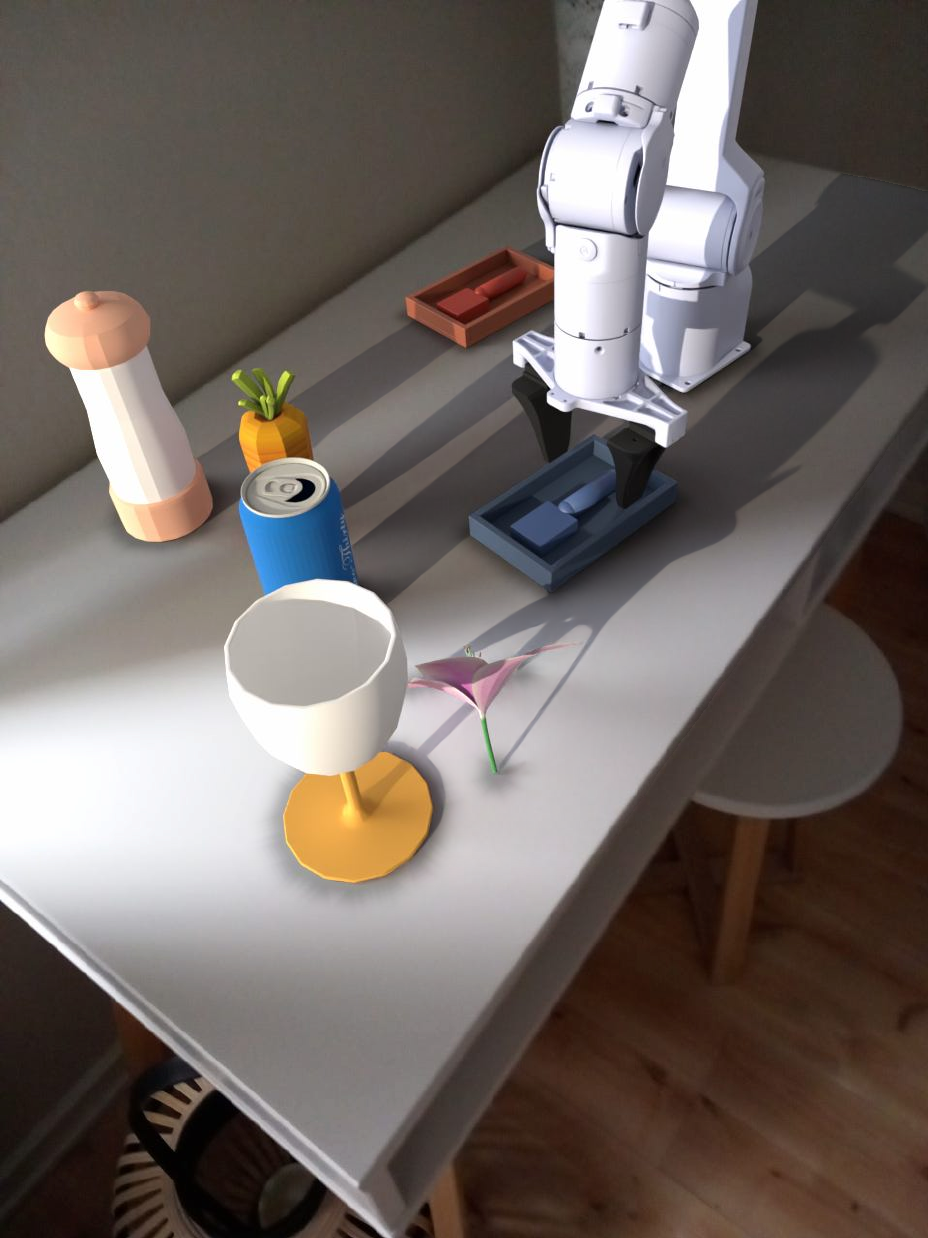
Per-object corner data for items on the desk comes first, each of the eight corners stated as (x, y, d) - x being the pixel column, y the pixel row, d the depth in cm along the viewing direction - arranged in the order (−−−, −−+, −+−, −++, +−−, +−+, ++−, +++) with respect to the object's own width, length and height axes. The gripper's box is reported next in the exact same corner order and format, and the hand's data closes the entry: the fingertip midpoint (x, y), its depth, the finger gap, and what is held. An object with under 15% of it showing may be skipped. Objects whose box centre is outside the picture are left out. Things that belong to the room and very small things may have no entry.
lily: (608, 711, 64) (578, 575, 61) (562, 812, 54) (524, 655, 50) (443, 720, 69) (408, 595, 65) (373, 815, 58) (327, 672, 55)
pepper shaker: (231, 499, 79) (162, 280, 65) (169, 554, 75) (80, 334, 61) (167, 471, 82) (87, 257, 68) (103, 523, 78) (4, 307, 64)
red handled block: (513, 274, 99) (513, 259, 98) (535, 284, 98) (535, 269, 96) (437, 314, 95) (436, 299, 94) (459, 326, 93) (457, 311, 92)
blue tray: (593, 453, 80) (593, 433, 78) (675, 501, 75) (678, 481, 74) (469, 535, 74) (468, 515, 73) (551, 593, 70) (551, 573, 68)
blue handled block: (603, 473, 77) (604, 457, 76) (634, 491, 76) (635, 475, 74) (510, 537, 73) (509, 521, 72) (540, 558, 71) (540, 542, 70)
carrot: (341, 518, 76) (307, 352, 65) (315, 561, 73) (274, 394, 62) (285, 507, 78) (242, 343, 67) (257, 549, 75) (206, 384, 64)
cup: (256, 856, 57) (179, 688, 45) (324, 735, 63) (272, 557, 51) (397, 904, 54) (355, 738, 43) (455, 773, 60) (433, 595, 48)
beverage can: (349, 653, 67) (319, 524, 58) (261, 643, 68) (218, 515, 59) (374, 586, 71) (348, 456, 62) (290, 577, 72) (254, 449, 64)
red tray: (507, 263, 102) (507, 244, 100) (567, 291, 97) (568, 273, 96) (407, 315, 96) (405, 296, 95) (466, 348, 92) (464, 329, 90)
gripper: (478, 301, 66) (487, 460, 76) (642, 387, 58) (628, 550, 68) (551, 261, 68) (551, 419, 79) (717, 338, 61) (693, 502, 71)
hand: (591, 477), depth 73 cm, fingers open, 7 cm apart
